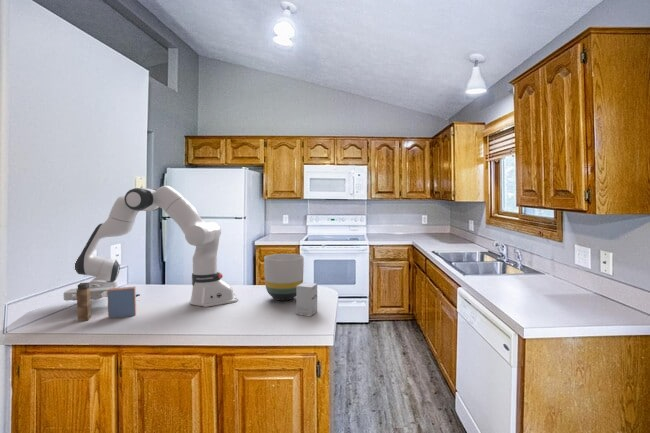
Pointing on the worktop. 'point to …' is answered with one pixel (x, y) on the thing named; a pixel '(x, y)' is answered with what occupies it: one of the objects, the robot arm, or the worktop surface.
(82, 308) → the brown pepper mill
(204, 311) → the worktop surface
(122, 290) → the tile
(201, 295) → the robot arm
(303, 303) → the supplement box
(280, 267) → the planter
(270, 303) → the worktop surface
